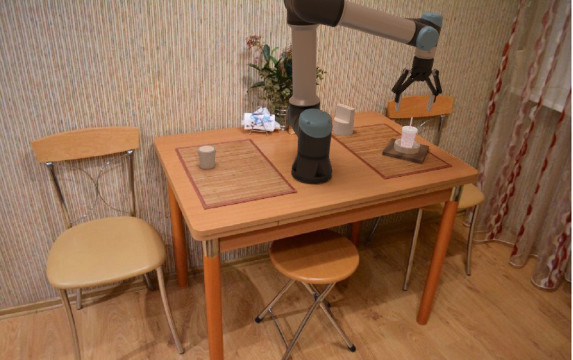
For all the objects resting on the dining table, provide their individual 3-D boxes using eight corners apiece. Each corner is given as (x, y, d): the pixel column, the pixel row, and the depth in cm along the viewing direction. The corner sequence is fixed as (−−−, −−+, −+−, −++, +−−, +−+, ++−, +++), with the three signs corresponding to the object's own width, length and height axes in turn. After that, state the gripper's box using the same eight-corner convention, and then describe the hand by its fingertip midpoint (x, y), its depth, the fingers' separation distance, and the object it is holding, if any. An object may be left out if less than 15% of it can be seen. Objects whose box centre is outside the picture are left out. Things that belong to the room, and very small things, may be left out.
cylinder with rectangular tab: (328, 131, 203) (331, 105, 197) (341, 126, 208) (344, 101, 202) (343, 137, 197) (346, 111, 191) (356, 132, 203) (360, 107, 197)
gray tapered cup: (209, 159, 172) (208, 143, 169) (220, 166, 168) (219, 149, 165) (194, 164, 168) (193, 148, 165) (205, 171, 164) (204, 154, 160)
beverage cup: (413, 152, 183) (420, 120, 176) (398, 150, 184) (404, 118, 177) (413, 146, 188) (419, 115, 181) (398, 144, 189) (404, 113, 182)
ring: (391, 150, 184) (392, 145, 182) (397, 141, 192) (398, 136, 190) (416, 156, 180) (417, 150, 179) (420, 147, 188) (421, 141, 187)
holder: (382, 155, 183) (382, 151, 182) (391, 141, 196) (391, 138, 195) (421, 164, 177) (422, 160, 177) (428, 149, 190) (429, 145, 189)
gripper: (396, 58, 162) (386, 113, 172) (459, 59, 166) (446, 113, 177) (389, 53, 168) (379, 107, 179) (449, 54, 173) (437, 107, 183)
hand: (412, 110), depth 178 cm, fingers open, 13 cm apart
